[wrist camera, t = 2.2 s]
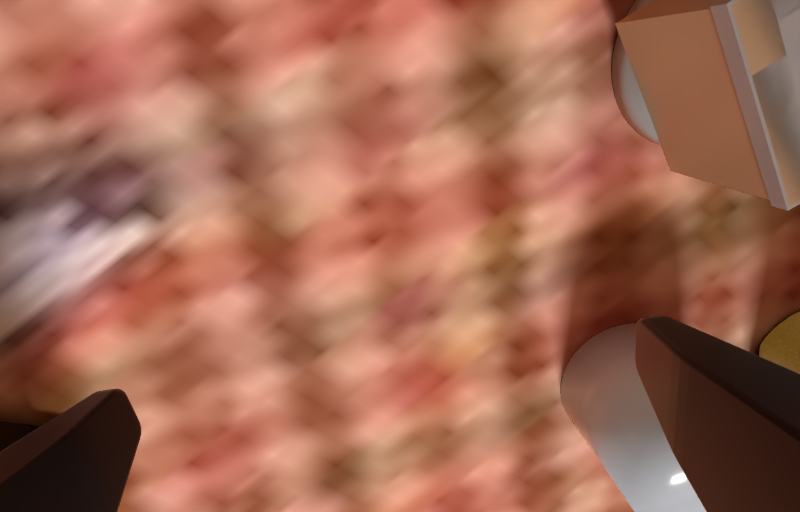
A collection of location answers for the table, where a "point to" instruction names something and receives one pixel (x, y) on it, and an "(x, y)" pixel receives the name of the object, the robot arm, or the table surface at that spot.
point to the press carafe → (716, 90)
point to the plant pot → (784, 344)
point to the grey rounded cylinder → (624, 423)
